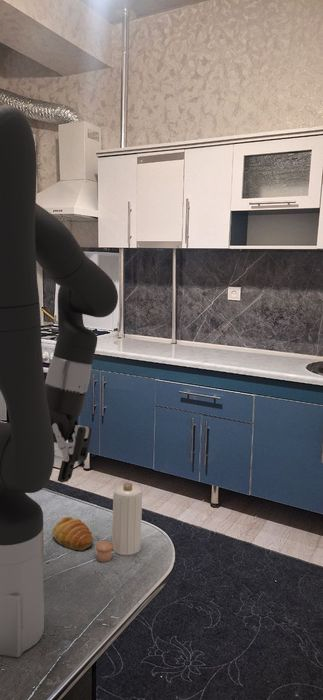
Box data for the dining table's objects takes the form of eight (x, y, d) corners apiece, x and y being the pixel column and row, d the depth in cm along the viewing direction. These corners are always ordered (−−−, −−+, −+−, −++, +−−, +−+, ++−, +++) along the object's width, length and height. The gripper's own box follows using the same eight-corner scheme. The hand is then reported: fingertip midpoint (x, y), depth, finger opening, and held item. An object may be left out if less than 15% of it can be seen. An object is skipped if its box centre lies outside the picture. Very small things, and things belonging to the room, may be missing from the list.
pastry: (101, 544, 103) (101, 527, 102) (74, 557, 98) (74, 539, 98) (75, 527, 110) (75, 511, 109) (48, 538, 105) (48, 522, 104)
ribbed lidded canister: (137, 556, 99) (138, 491, 97) (109, 553, 100) (110, 489, 98) (142, 541, 104) (144, 480, 102) (116, 538, 105) (117, 477, 103)
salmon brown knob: (110, 563, 96) (110, 550, 96) (93, 561, 97) (93, 548, 96) (114, 553, 99) (114, 541, 99) (98, 551, 100) (98, 539, 100)
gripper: (23, 374, 89) (2, 462, 89) (83, 394, 82) (60, 490, 82) (51, 376, 95) (32, 458, 95) (110, 395, 88) (88, 484, 88)
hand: (45, 473), depth 89 cm, fingers open, 8 cm apart
